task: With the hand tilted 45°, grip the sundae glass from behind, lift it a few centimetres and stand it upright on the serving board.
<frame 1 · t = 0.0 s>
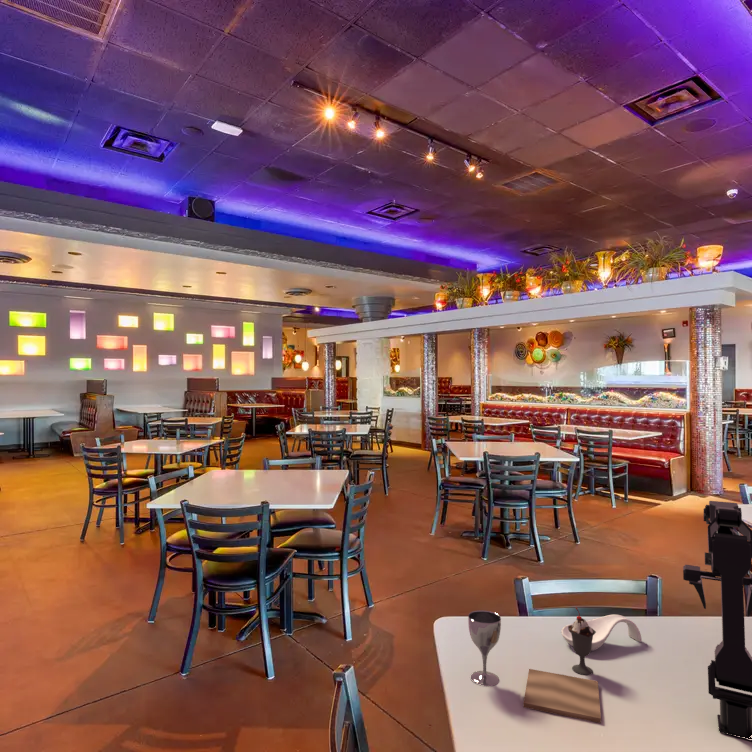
hand: (726, 612, 135), 15 cm above the table, tool pointing down, fingers open, 9 cm apart
sundae: (582, 670, 134), on the table
spoon rest: (601, 644, 149), on the table
wine glass: (484, 679, 129), on the table
serving board: (562, 695, 122), on the table
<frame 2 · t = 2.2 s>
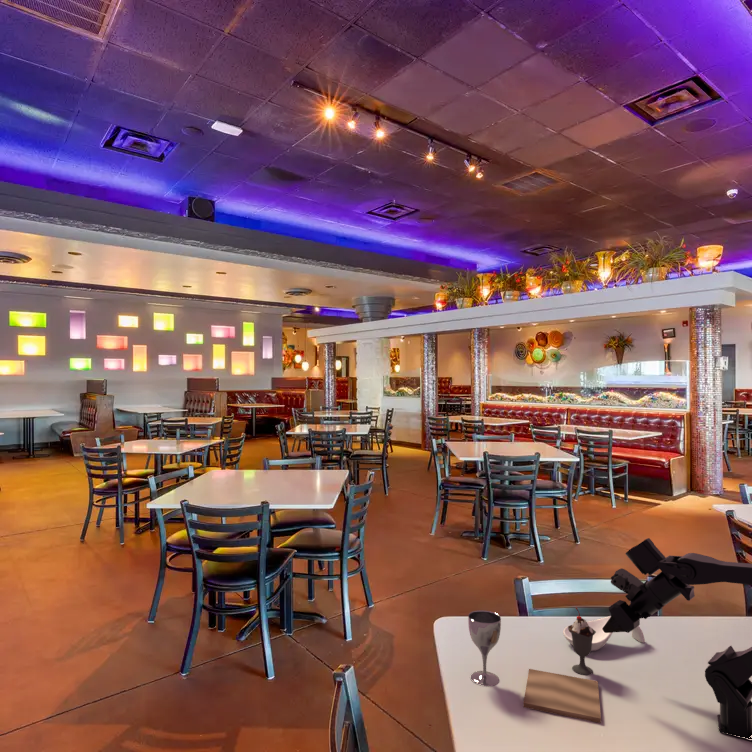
hand: (611, 625, 129), 13 cm above the table, tool tilted 45°, fingers open, 9 cm apart
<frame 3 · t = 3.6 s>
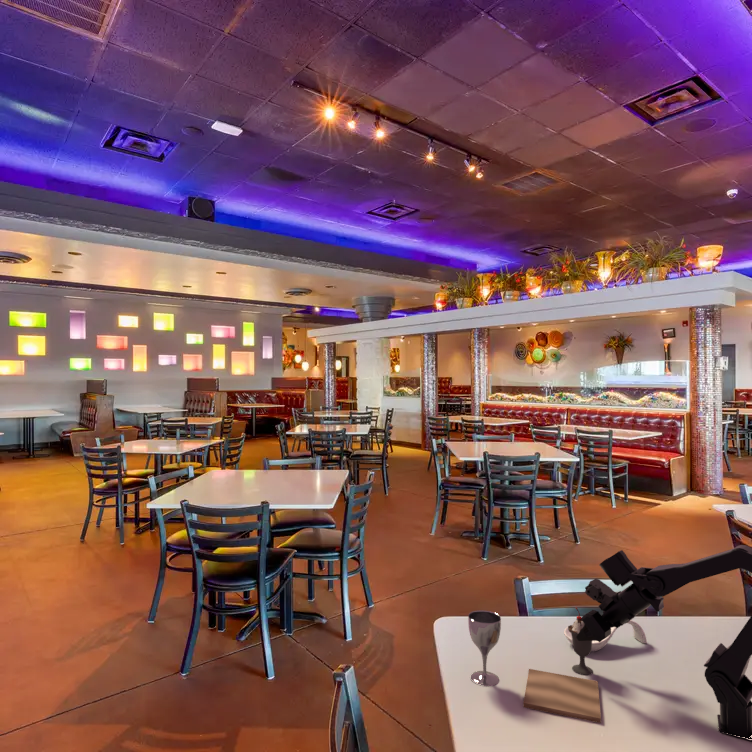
hand: (585, 633, 133), 10 cm above the table, tool tilted 45°, fingers open, 9 cm apart
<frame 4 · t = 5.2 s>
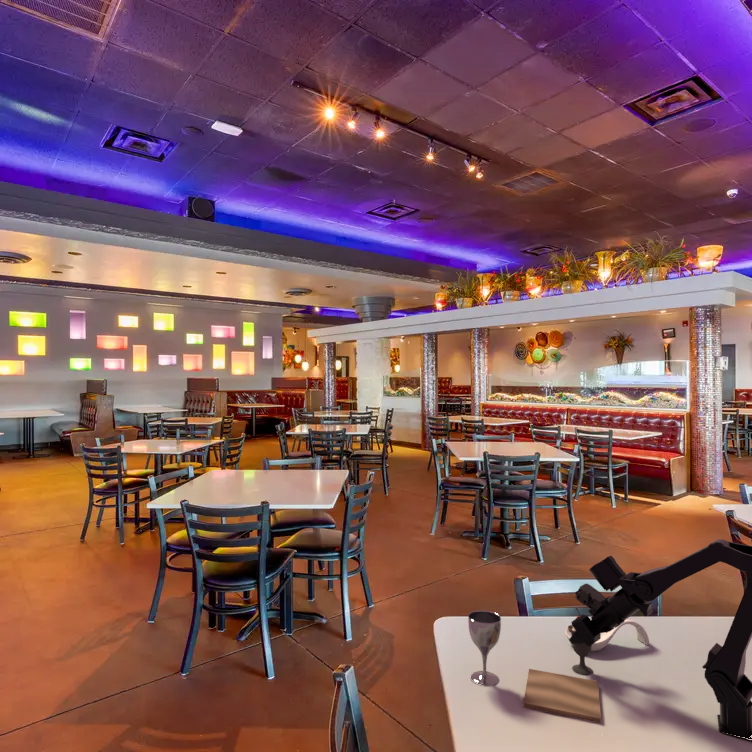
hand: (576, 637, 135), 8 cm above the table, tool tilted 45°, fingers closed on sundae, 6 cm apart
sundae: (582, 670, 134), on the table, touching gripper
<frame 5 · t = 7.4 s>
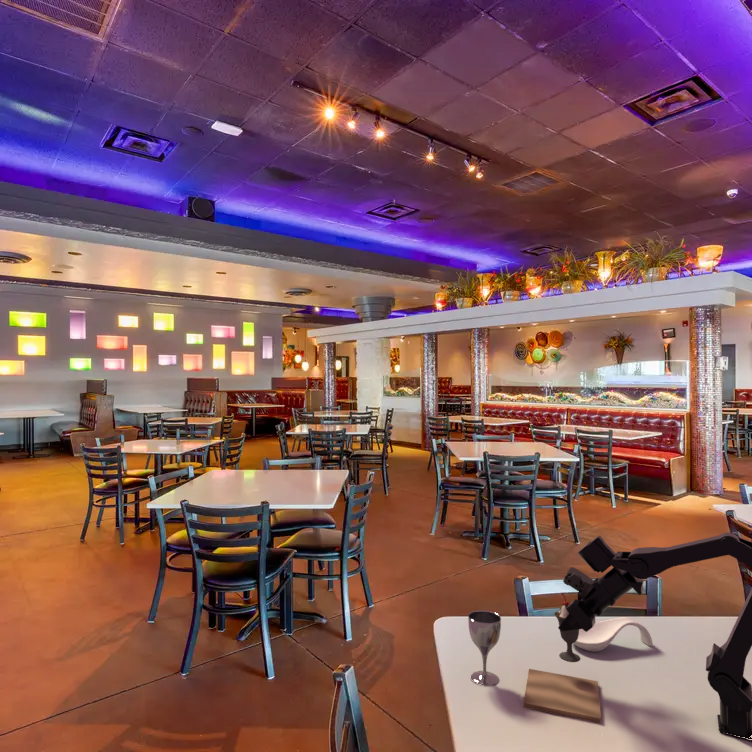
hand: (563, 624, 130), 13 cm above the table, tool tilted 45°, fingers closed on sundae, 6 cm apart
sundae: (569, 658, 128), point 6 cm above the table, touching gripper
when the fingers open (10 cm above the table, at t = 9.7 s): sundae drops 1 cm, resting on serving board.
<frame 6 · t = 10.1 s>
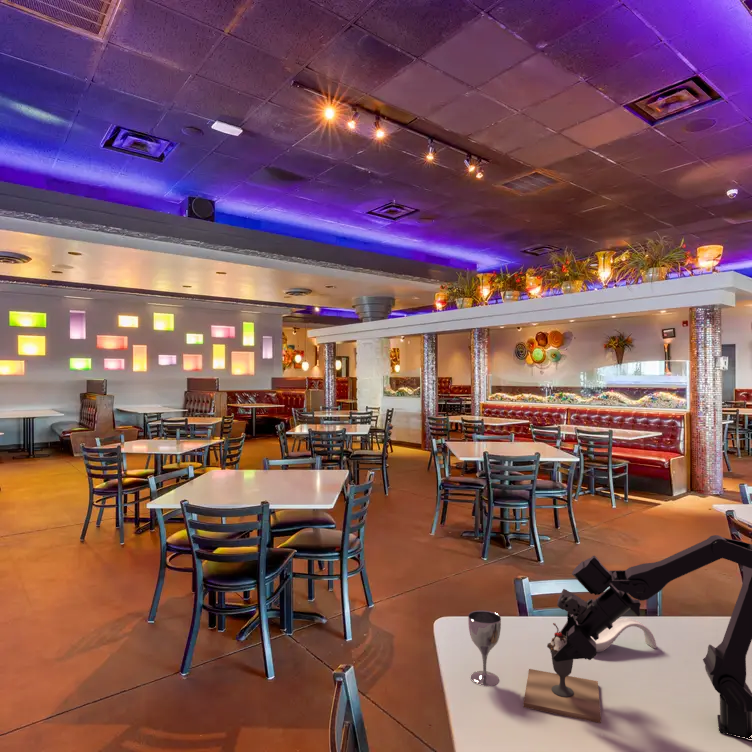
hand: (555, 650, 123), 10 cm above the table, tool tilted 45°, fingers open, 9 cm apart
sundae: (562, 692, 122), point 1 cm above the table, touching serving board
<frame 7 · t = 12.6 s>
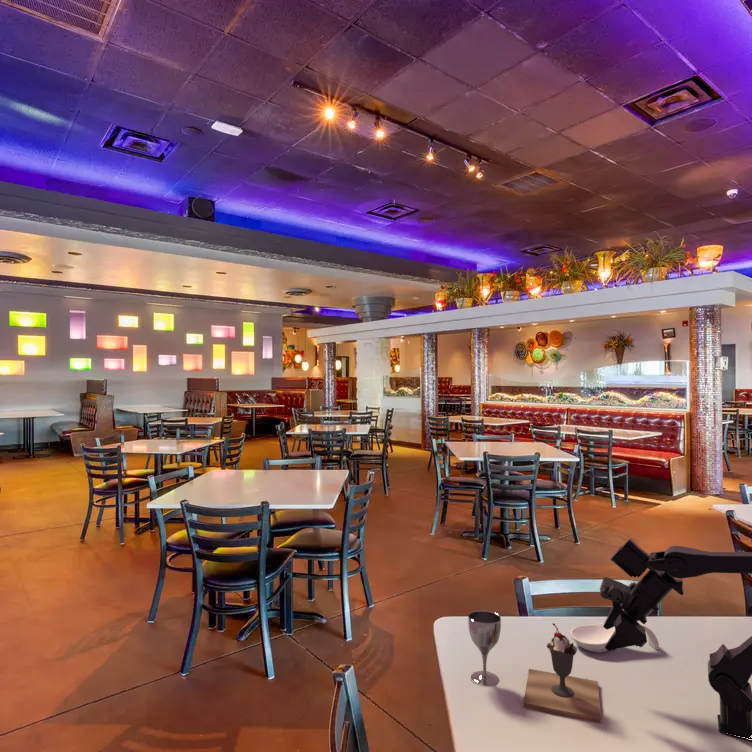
hand: (605, 638, 123), 13 cm above the table, tool tilted 35°, fingers open, 9 cm apart
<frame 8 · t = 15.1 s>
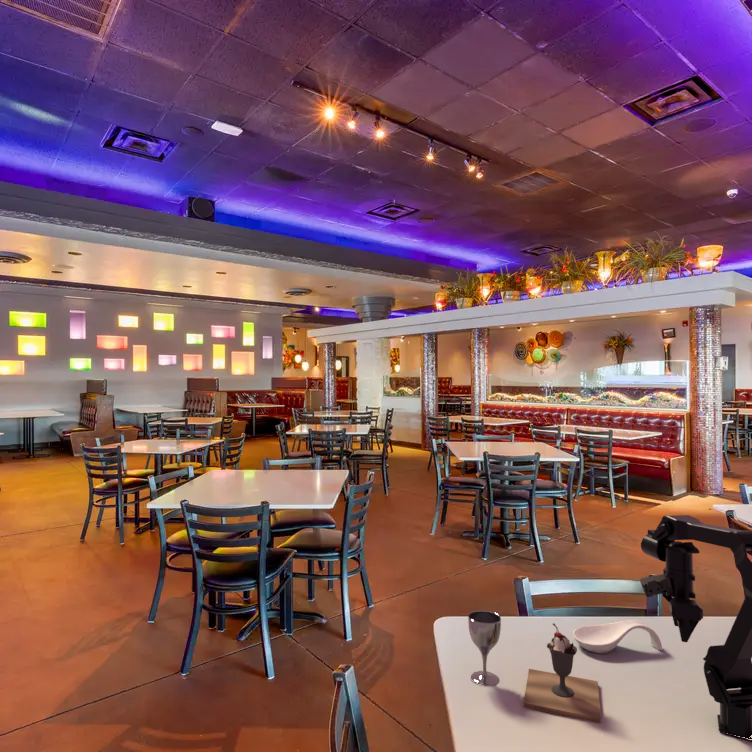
hand: (680, 633, 126), 13 cm above the table, tool pointing down, fingers open, 9 cm apart
at the end: sundae inside the target area on the serving board (0.1 cm from its centre), point 0.8 cm above the serving board's base; sundae tilted 0°; the gripper is holding nothing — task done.
